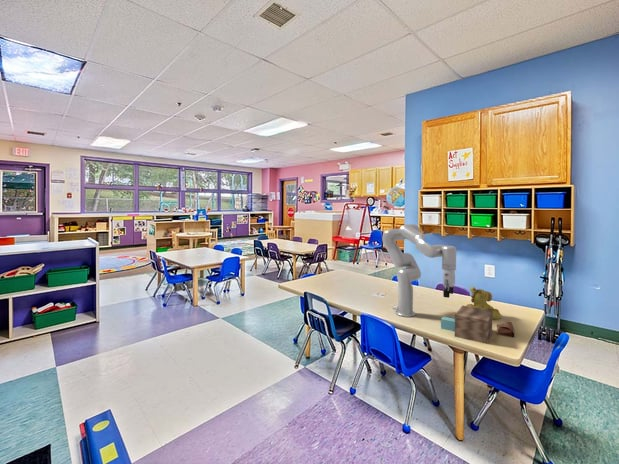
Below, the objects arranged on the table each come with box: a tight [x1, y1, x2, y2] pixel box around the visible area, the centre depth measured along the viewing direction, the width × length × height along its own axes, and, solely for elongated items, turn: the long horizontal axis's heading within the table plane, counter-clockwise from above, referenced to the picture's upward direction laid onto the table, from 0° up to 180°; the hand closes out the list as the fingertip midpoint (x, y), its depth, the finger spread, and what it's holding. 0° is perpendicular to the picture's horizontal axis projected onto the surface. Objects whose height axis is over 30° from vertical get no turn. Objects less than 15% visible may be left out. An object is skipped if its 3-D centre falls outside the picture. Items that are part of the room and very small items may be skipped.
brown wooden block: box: [454, 305, 494, 345], centre depth 172 cm, size 16×20×12 cm
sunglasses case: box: [496, 320, 515, 338], centre depth 176 cm, size 18×7×7 cm
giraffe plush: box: [465, 286, 502, 320], centre depth 200 cm, size 20×24×19 cm
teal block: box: [440, 316, 455, 333], centre depth 178 cm, size 14×5×6 cm, turn 52°
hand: (448, 295), depth 179 cm, fingers open, 9 cm apart
